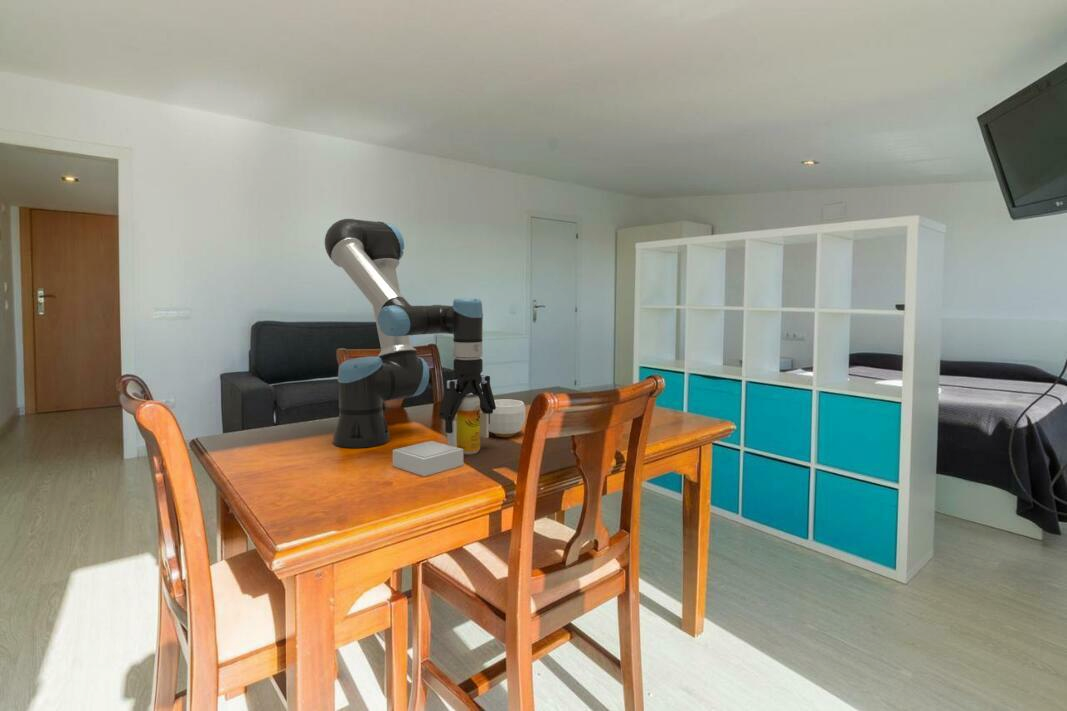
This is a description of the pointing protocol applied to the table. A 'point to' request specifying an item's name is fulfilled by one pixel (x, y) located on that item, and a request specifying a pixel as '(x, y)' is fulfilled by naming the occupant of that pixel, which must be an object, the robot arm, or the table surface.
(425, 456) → the pedestal
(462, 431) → the yellow labeled bottle
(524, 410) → the cup
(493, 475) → the table surface
